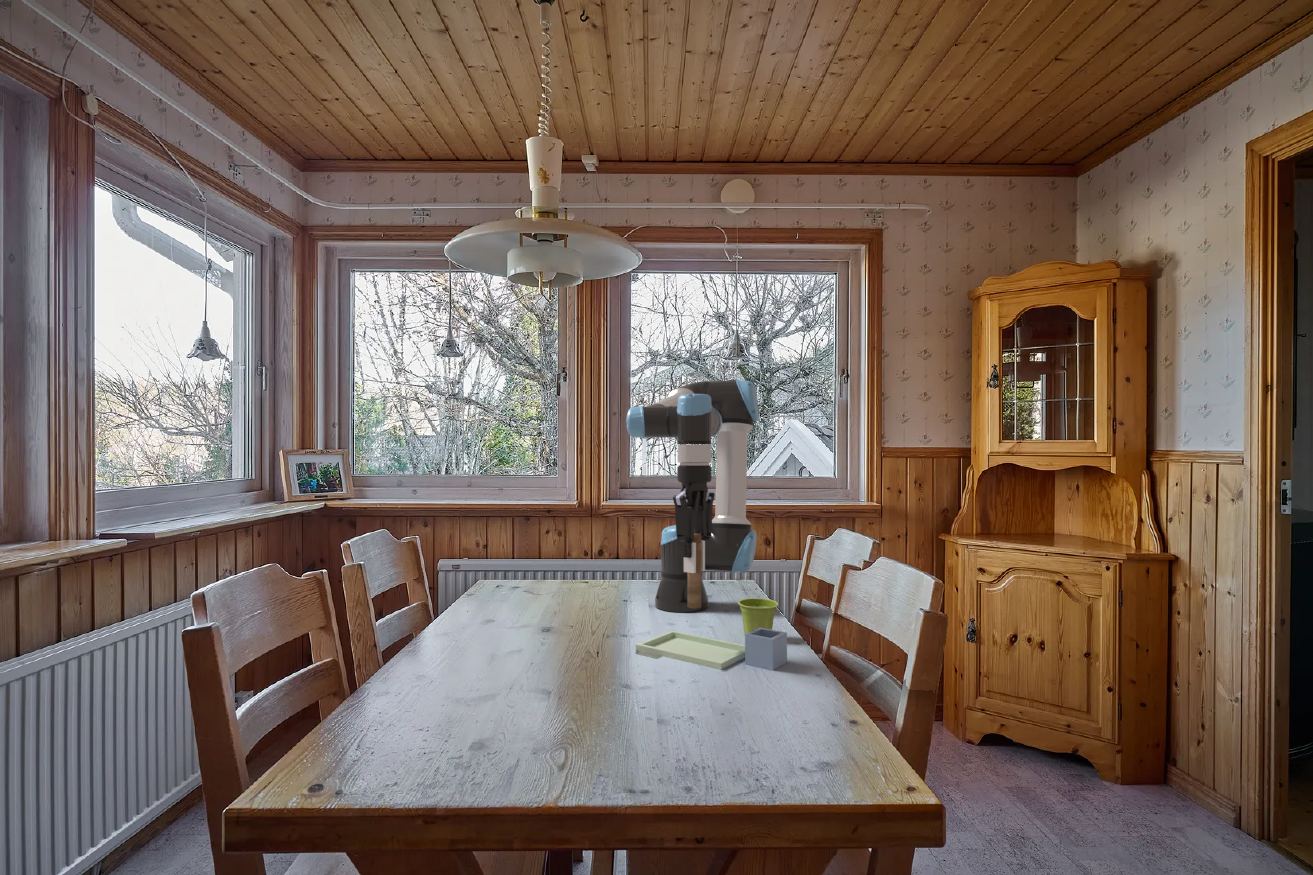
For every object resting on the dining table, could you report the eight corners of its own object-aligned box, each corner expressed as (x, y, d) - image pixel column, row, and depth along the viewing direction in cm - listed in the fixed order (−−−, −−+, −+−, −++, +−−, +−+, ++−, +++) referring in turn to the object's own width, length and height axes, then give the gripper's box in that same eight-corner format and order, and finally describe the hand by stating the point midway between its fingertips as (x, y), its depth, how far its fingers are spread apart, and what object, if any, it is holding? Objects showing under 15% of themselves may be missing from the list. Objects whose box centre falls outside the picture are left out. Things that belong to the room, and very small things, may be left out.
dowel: (692, 604, 155) (692, 532, 155) (703, 606, 153) (703, 533, 153) (684, 607, 152) (684, 534, 152) (696, 609, 150) (696, 535, 151)
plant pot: (776, 634, 169) (776, 598, 169) (779, 645, 160) (779, 607, 160) (737, 633, 170) (737, 597, 170) (738, 644, 160) (738, 606, 160)
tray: (672, 638, 165) (672, 630, 165) (754, 655, 152) (754, 646, 152) (635, 653, 154) (635, 644, 154) (720, 673, 140) (720, 663, 141)
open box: (759, 660, 149) (759, 627, 149) (787, 665, 145) (787, 632, 145) (745, 667, 144) (745, 634, 144) (772, 674, 140) (772, 639, 140)
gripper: (699, 463, 161) (699, 564, 161) (659, 464, 149) (659, 574, 148) (727, 463, 157) (727, 567, 157) (688, 465, 144) (688, 578, 144)
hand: (694, 570), depth 153 cm, fingers closed on dowel, 3 cm apart
